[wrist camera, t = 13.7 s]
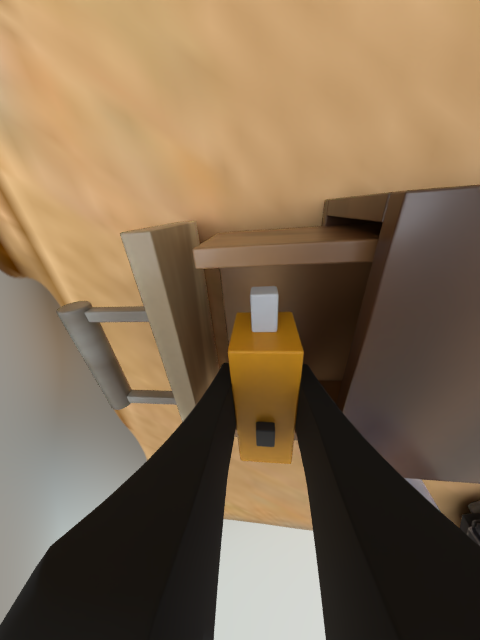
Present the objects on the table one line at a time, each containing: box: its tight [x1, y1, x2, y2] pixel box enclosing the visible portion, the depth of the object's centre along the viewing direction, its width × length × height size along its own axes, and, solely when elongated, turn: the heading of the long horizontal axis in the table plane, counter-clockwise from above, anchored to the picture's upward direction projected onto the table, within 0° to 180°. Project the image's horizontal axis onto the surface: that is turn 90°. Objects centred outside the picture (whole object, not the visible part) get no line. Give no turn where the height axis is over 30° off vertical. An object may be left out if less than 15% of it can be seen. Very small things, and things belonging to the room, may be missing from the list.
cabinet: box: [322, 185, 480, 484], centre depth 11 cm, size 15×15×8 cm
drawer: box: [57, 221, 383, 440], centre depth 12 cm, size 18×13×6 cm
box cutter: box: [228, 286, 304, 464], centre depth 9 cm, size 9×3×3 cm, turn 4°
